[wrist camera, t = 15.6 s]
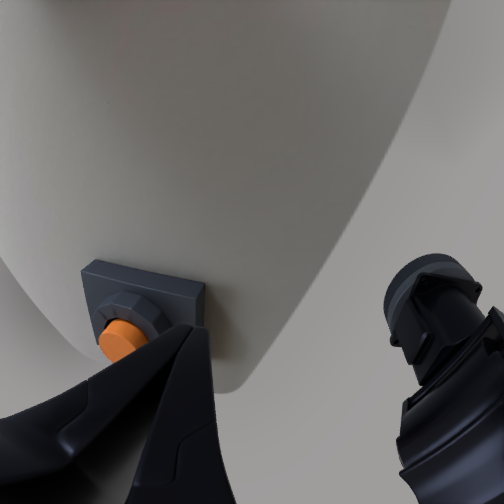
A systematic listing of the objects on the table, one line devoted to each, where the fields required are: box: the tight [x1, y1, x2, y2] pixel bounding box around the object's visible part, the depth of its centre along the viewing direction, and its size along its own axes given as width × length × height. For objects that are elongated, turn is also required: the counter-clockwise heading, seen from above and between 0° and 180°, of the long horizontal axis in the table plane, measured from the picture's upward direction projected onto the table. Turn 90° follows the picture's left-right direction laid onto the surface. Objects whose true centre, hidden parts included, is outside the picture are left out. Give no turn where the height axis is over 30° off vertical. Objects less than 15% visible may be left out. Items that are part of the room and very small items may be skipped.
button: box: [99, 319, 149, 363], centre depth 19 cm, size 4×4×2 cm
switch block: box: [81, 260, 205, 345], centre depth 22 cm, size 10×8×4 cm
